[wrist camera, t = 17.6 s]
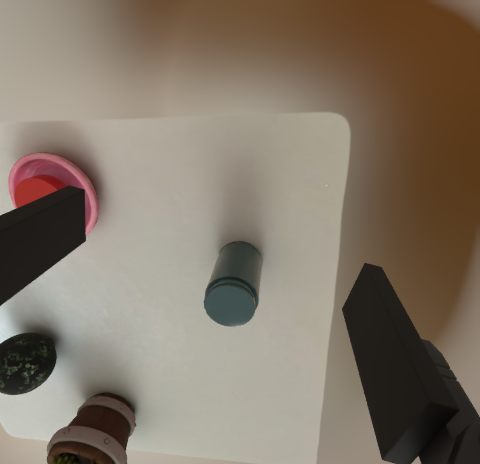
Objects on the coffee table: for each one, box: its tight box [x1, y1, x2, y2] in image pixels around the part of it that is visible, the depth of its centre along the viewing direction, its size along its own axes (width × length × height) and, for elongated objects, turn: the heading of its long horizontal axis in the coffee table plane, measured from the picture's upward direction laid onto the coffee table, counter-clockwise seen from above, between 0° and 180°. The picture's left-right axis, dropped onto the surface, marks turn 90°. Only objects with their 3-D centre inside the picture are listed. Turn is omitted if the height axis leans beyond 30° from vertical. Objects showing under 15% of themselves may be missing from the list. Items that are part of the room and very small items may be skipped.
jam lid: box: [14, 174, 67, 208], centre depth 39 cm, size 7×7×2 cm
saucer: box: [9, 153, 99, 234], centre depth 42 cm, size 12×12×3 cm
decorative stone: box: [0, 333, 57, 395], centre depth 53 cm, size 10×10×10 cm
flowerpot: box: [47, 393, 136, 464], centre depth 55 cm, size 14×15×20 cm
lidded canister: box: [204, 241, 262, 327], centre depth 40 cm, size 7×7×11 cm
